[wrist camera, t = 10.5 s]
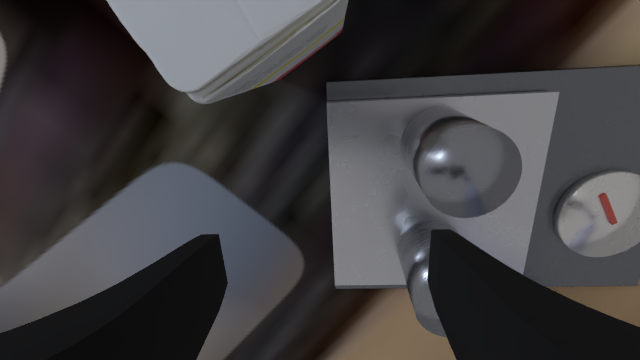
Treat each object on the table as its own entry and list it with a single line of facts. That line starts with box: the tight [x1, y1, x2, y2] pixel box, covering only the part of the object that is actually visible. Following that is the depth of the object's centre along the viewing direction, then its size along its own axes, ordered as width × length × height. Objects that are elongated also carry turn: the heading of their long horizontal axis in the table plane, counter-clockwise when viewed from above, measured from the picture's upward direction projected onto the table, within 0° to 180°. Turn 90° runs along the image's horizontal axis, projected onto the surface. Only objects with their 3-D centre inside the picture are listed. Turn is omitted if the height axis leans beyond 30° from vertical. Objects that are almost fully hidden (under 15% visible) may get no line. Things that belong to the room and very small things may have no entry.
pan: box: [327, 91, 559, 285], centre depth 20 cm, size 12×12×1 cm
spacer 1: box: [397, 220, 460, 337], centre depth 18 cm, size 4×4×5 cm
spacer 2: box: [400, 107, 522, 218], centre depth 16 cm, size 4×4×5 cm
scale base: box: [326, 65, 640, 289], centre depth 20 cm, size 14×20×2 cm
